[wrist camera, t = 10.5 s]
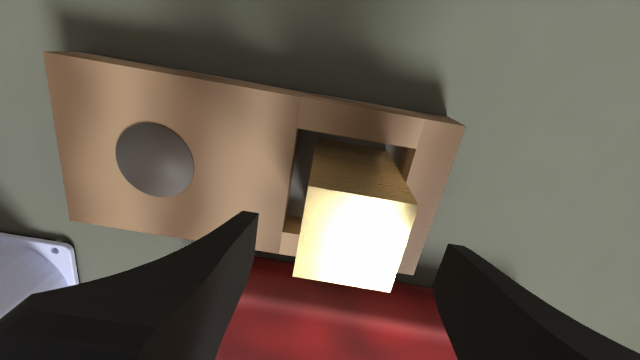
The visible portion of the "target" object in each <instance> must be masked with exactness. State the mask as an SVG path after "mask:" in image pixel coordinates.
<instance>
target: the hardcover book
mask: <svg viewBox="0 0 640 360" xmlns="http://www.w3.org/2000/svg"><path fill="white" fill-rule="evenodd" d="M294 265H295V263H290V262H284V261H279V260H273V259H268V258H262V257H257V256H254V261H253V264H252V268H251V271H250V275H249V278H248V281H247V284H246V286H245V288H244V291H243V293H242V295H241V298H240V300H239V302H238V305H237V307H236V309H235V311H234V314H233V316H232V318H231V320H230V323H229V325H228V327H227V329H226V332H225V334H224V336H223V339H222V341H221V344H220V347H219V349H218V352H217V355H216V358H215V360H458V359H457V357H456V354H455V352H454V349H453V347H452V344H451V342H450V340H449V337H448V335H447V332H446V330H445V327H444V325H443V322H442V320H441V317H440V315H439V312H438V309H437V305H436V302H435V297H434V293H433V289H432V288H427V287H422V286H416V285H411V284H405V283H400V282H393V285H392V288H391V291H390V292H385V291H379V290H373V289H367V288H361V287H355V286H348V285H342V284H336V283H330V282H324V281H318V280H312V279H305V278H299V277H293V271H294Z"/></svg>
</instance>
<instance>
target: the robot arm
mask: <svg viewBox="0 0 640 360" xmlns="http://www.w3.org/2000/svg"><path fill="white" fill-rule="evenodd" d="M258 218H259V213H255V212H249V211H241V212H240V213H238V214H237V215H235V216H234V217H232V218H231V219H229V220H228V221H227V222H225V223H224V224H222V225H221V226H219V227H218V228H216V229H215V230H213V231H212V232H210V233H209V234H207V235H205V236H203V237H202V238H200V239H198V240H196V241H195V242H193V243H191V244H190V245H188V246H186V247H184V248H182V249H180V250H178V251H176V252H173V253H171V254H169V255H167V256H165V257H162V258H160V259H158V260H155V261H152V262H149V263H147V264H144V265H141V266H139V267H136V268H133V269H130V270H128V271H124V272H121V273H118V274H115V275H111V276H108V277H104V278H101V279H97V280H93V281H89V282H85V283H81V284H79V280H78V274H77V267H76V261H75V255H74V249H73V247H72V246H71V245H70V244H67V243H63V242H57V241H50V240H44V239H38V238H31V237H25V236H19V235H12V234H6V233H0V360H215V358H216V355H217V352H218V349H219V347H220V344H221V341H222V339H223V336H224V334H225V332H226V329H227V327H228V325H229V323H230V320H231V318H232V316H233V314H234V311H235V309H236V307H237V305H238V302H239V300H240V298H241V295H242V293H243V291H244V288H245V286H246V284H247V281H248V278H249V275H250V271H251V268H252V264H253V261H254V255H255V246H256V236H257V227H258ZM432 289H433V293H434V297H435V302H436V305H437V309H438V312H439V315H440V317H441V320H442V322H443V325H444V327H445V330H446V332H447V335H448V337H449V340H450V342H451V344H452V347H453V349H454V352H455V354H456V357H457V359H458V360H640V354H639V353H637V352H635V351H633V350H631V349H629V348H627V347H625V346H623V345H621V344H619V343H617V342H615V341H613V340H611V339H609V338H607V337H605V336H603V335H601V334H599V333H597V332H595V331H594V330H592V329H590V328H588V327H586V326H585V325H583V324H581V323H579V322H578V321H576V320H574V319H572V318H571V317H569V316H567V315H566V314H564V313H562V312H561V311H559V310H557V309H556V308H554V307H552V306H551V305H549V304H548V303H546V302H545V301H543V300H542V299H540V298H539V297H537V296H536V295H534V294H532V293H531V292H529V291H528V290H527V289H525V288H524V287H522V286H521V285H519V284H518V283H517V282H515V281H514V280H512V279H511V278H509V277H508V276H507V275H505V274H504V273H503V272H501V271H500V270H498V269H497V268H496V267H494V266H493V265H492V264H490V263H489V262H487V261H486V260H485V259H483V258H482V257H480V256H479V255H477V254H476V253H475V252H473V251H471V250H470V249H468V248H466V247H465V246H460V245H453V244H448V246H447V248H446V251H445V254H444V256H443V259H442V262H441V264H440V267H439V269H438V272H437V275H436V277H435V280H434V282H433V285H432Z"/></svg>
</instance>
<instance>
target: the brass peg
mask: <svg viewBox="0 0 640 360" xmlns="http://www.w3.org/2000/svg"><path fill="white" fill-rule="evenodd" d="M418 207H419V205H418V203H417V201H416V199H415V198H414V196H413V194H412V193H411V191H410V189H409V187H408V186H407V184H406V182H405V180H404V179H403V177H402V175H401V174H400V172H399V170H398V168H397V167H396V165H395V163H394V162H393V160H392V158H391V156H390V155H389V153H388V151H387V150H386V149H381V148H376V147H370V146H365V145H359V144H354V143H348V142H343V141H337V140H331V139H326V138H320V137H317V138H316V144H315V149H314V155H313V161H312V166H311V172H310V178H309V183H308V189H307V195H306V201H305V206H304V212H303V218H302V224H301V230H300V236H299V241H298V247H297V253H296V259H295V265H294V271H293V277H299V278H305V279H312V280H318V281H324V282H330V283H336V284H342V285H348V286H355V287H361V288H367V289H373V290H379V291H385V292H390V291H391V288H392V285H393V282H394V279H395V276H396V273H397V270H398V267H399V264H400V261H401V258H402V255H403V252H404V249H405V246H406V243H407V240H408V237H409V234H410V231H411V228H412V225H413V222H414V219H415V216H416V213H417V210H418Z"/></svg>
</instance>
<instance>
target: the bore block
mask: <svg viewBox="0 0 640 360" xmlns="http://www.w3.org/2000/svg"><path fill="white" fill-rule="evenodd" d="M43 54H44V60H45V66H46V73H47V79H48V85H49V92H50V98H51V104H52V111H53V117H54V123H55V130H56V136H57V142H58V149H59V155H60V161H61V168H62V174H63V180H64V187H65V193H66V199H67V206H68V212H69V218H70V221H75V222H82V223H88V224H94V225H100V226H107V227H113V228H119V229H125V230H132V231H138V232H144V233H151V234H157V235H163V236H169V237H176V238H182V239H188V240H194V241H196V240H198V239H200V238H202V237H203V236H205V235H207V234H209V233H210V232H212V231H213V230H215V229H216V228H218V227H219V226H221V225H222V224H224V223H225V222H227V221H228V220H229V219H231V218H232V217H234V216H235V215H237V214H238V213H240V212H241V211H249V212H255V213H259V218H258V227H257V236H256V246H255V250H257V251H264V252H270V253H276V254H282V255H289V256H295V257H296V253H297V247H298V241H299V236H300V230H301V224H302V218H303V212H304V206H305V201H306V195H307V189H308V183H309V178H310V172H311V166H312V161H313V155H314V149H315V144H316V138H317V137H320V138H326V139H331V140H337V141H343V142H348V143H354V144H359V145H365V146H370V147H376V148H381V149H386V150H387V151H388V153H389V155H390V156H391V158H392V160H393V162H394V163H395V165H396V167H397V168H398V170H399V172H400V174H401V175H402V177H403V179H404V180H405V182H406V184H407V186H408V187H409V189H410V191H411V193H412V194H413V196H414V198H415V199H416V201H417V203H418V205H419V207H418V210H417V213H416V216H415V219H414V222H413V225H412V228H411V231H410V234H409V237H408V240H407V243H406V246H405V249H404V252H403V255H402V258H401V261H400V264H399V267H398V270H397V273H402V274H408V275H414V272H415V269H416V267H417V264H418V261H419V258H420V255H421V252H422V249H423V247H424V244H425V241H426V238H427V235H428V232H429V229H430V227H431V224H432V221H433V218H434V215H435V212H436V210H437V207H438V204H439V201H440V198H441V195H442V192H443V190H444V187H445V184H446V181H447V178H448V175H449V172H450V170H451V167H452V164H453V161H454V158H455V155H456V152H457V150H458V147H459V144H460V141H461V138H462V135H463V132H464V130H465V127H466V126H464V125H462V124H460V123H459V122H457V121H455V120H453V119H451V118H449V117H447V116H442V115H436V114H430V113H425V112H419V111H413V110H408V109H402V108H397V107H391V106H385V105H380V104H374V103H368V102H363V101H357V100H352V99H346V98H340V97H335V96H329V95H323V94H318V93H312V92H306V91H301V90H295V89H290V88H284V87H278V86H273V85H267V84H261V83H256V82H250V81H245V80H239V79H233V78H228V77H222V76H216V75H211V74H205V73H199V72H194V71H188V70H183V69H177V68H171V67H166V66H160V65H154V64H149V63H143V62H138V61H132V60H126V59H121V58H115V57H109V56H104V55H98V54H92V53H87V52H43Z"/></svg>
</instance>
